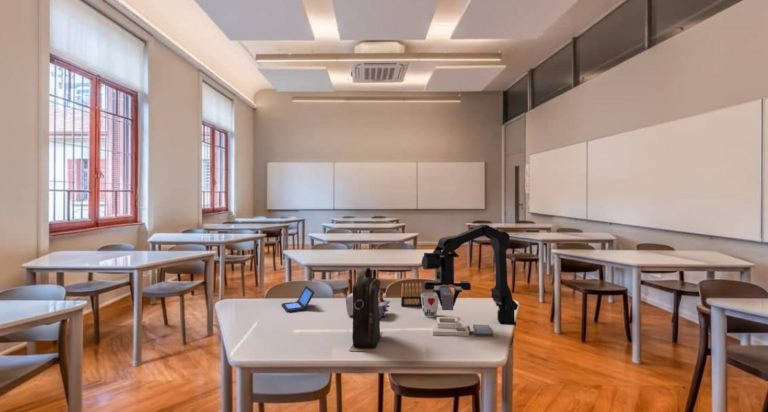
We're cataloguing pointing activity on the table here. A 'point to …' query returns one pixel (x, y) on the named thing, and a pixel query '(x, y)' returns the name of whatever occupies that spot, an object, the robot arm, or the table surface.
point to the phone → (483, 330)
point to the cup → (429, 304)
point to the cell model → (381, 301)
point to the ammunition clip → (411, 296)
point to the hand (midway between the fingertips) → (447, 305)
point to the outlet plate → (450, 327)
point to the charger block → (447, 301)
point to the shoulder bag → (366, 312)
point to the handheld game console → (299, 301)
